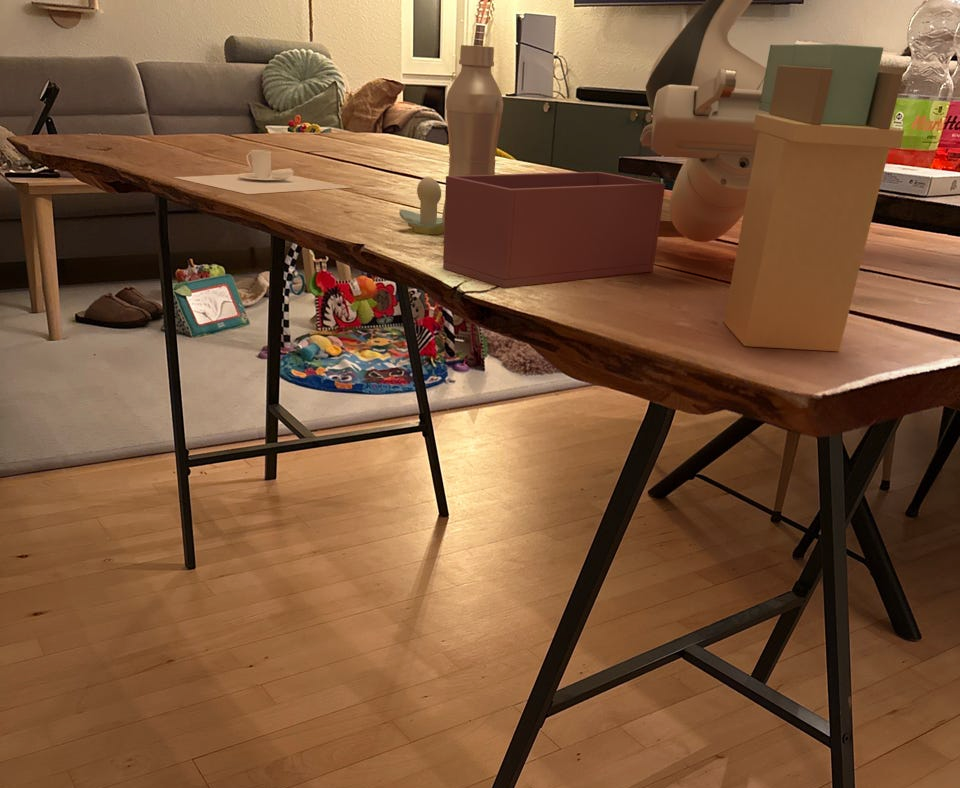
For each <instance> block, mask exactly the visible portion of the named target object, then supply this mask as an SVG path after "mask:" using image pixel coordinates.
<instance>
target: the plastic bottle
mask: <svg viewBox="0 0 960 788" xmlns="http://www.w3.org/2000/svg"><path fill="white" fill-rule="evenodd" d="M494 55H495V46H494V47H493V46H481V45H469V44H467V45H466V44H465V45H464V44H461V45H460V54H459V56H460V57H459V59H458V64H459V65H461V69H460V72H459V73H458V75H457V76H456V78H455V79H454V81H453V82H452V84H451V86H450V88H449V89H448V91H447V95H446V99H445V111H446V123H447V133H448V153H449V157H448V174H447V176H461V175H496V156H497V151H498V140H499V135H500V129H501V122H502V117H503V116H502V114H503V112H504V100H503V95H502V92H501V89H500V87H499V85H498V83H497V81H496V79H495V78H494V75H493V74H492V67H495V61H494V57H495V56H494ZM441 218H442V221H443V230H444V221H445V202H444V203H443V210H442V216H441Z"/></svg>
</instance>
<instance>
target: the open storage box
mask: <svg viewBox="0 0 960 788" xmlns="http://www.w3.org/2000/svg"><path fill="white" fill-rule="evenodd" d="M665 190H666V183H665V182H659V181H652V180H647V179H641V178H635V177H631V176H624V175H619V174H613V173H608V172H603V171H577V172H576V171H575V172H542V173H541V172H538V173H535V172H533V173H506V174H505V173H504V174H503V173H501V174H499V173H498V174H495V175H461V176H448V175H446V176H445V190H444V191H445V193H444V194H445V195H444V203H445V221H444V233H443V256H442V257H443V258H442V259H443V261H442V268H443V269H444V270H447V271H450V272H453V273H457V274H460V275H463V276H466V277H469V278H472V279H476V280H478V281H481V282H485V283H487V284H492V285H494V286H497V287H500V288H504V289H506V288H507V289H508V288H516V287H523V286H534V285H542V284H543V285H544V284H550V283H551V284H552V283H559V282H561V283H562V282H571V281H578V280H580V281H581V280H587V279H598V278H607V277H616V276H622V275H623V276H624V275H633V274H643V273H651V272H654V268H655V260H656V254H657V247H658V239H659V236H658V233H659V226H660V219H661V212H662V205H663V199H665V198H664V197H665Z"/></svg>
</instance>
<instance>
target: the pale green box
mask: <svg viewBox="0 0 960 788" xmlns="http://www.w3.org/2000/svg"><path fill="white" fill-rule="evenodd" d="M883 52H884V47H883V46H869V45H856V44H855V45H854V44H839V43H821V44H820V43H819V44H818V43H813V44H812V43H810V44H804V43H803V44H770V45H769V51H768V57H767V62H766V66H765V68H766V72H765V78H764V80H763V81H764V83H763V89H762V94H761V100H760V105H759V110H762V111H766V112H770V106H771V101H772V96H773V90H774V85H775V80H776V74H777V69H778V66H779V65H781V66H797V67H814V68H830V69H833V73H832V77H831V82H830V87H829V91H828V96H827V101H826V106H825V110H824V115H823V120H822V124H837V125H853V126H865V125H866V121H867V117H868V113H869V108H870V104H871V100H872V95H873V91H874V87H875V83H876V78H877V74H878V72H879V70H880V64H881V61H882V58H883V57H882V56H883Z"/></svg>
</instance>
